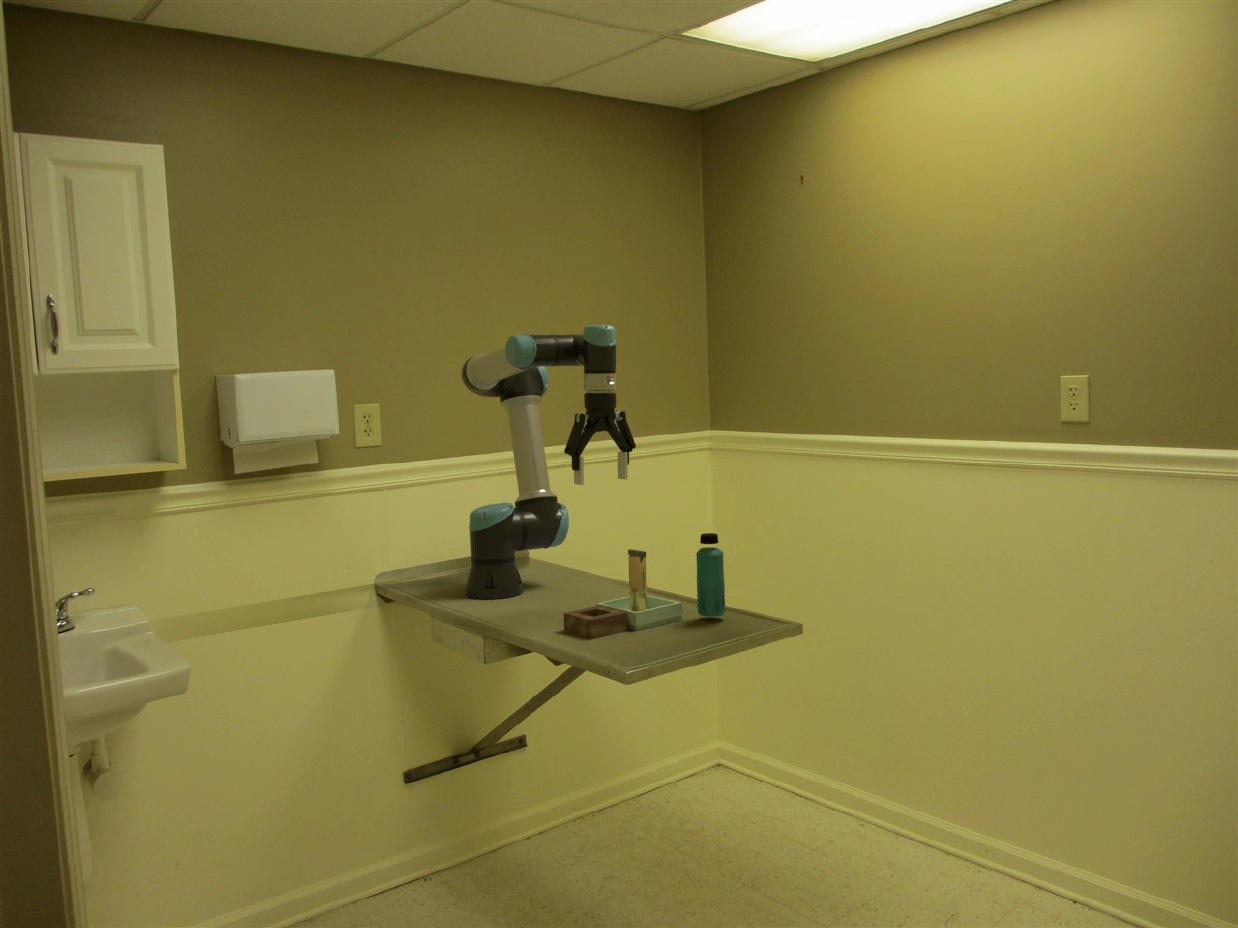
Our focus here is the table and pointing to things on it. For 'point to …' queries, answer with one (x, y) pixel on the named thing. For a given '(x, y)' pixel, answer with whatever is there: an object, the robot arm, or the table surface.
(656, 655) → the table surface
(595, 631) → the block
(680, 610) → the tray
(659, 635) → the table surface
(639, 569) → the amber rounded cylinder
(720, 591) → the beverage bottle
